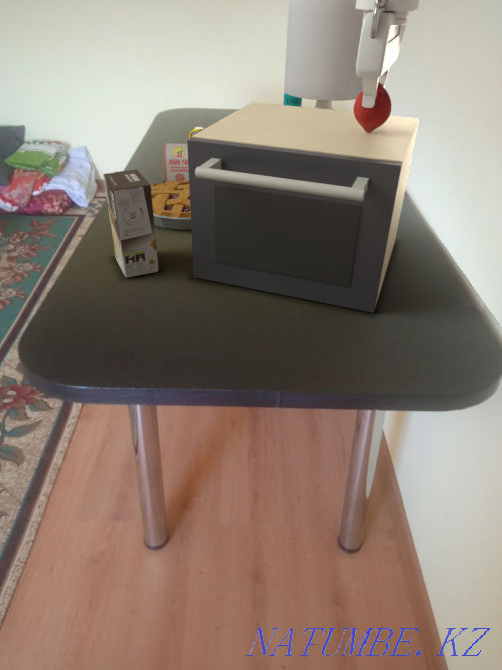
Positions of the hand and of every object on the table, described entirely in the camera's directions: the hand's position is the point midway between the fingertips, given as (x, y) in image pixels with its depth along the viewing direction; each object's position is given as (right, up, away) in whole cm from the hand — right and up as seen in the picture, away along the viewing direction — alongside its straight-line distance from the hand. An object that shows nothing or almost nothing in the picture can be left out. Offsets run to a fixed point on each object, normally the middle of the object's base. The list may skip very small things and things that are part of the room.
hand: (372, 101), depth 81 cm
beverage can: (-6, +28, +89) cm, 94 cm away
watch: (-35, +21, +78) cm, 88 cm away
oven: (-9, -22, +19) cm, 30 cm away
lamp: (0, +12, +67) cm, 68 cm away
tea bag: (-37, +2, +51) cm, 63 cm away
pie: (-34, -9, +35) cm, 50 cm away
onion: (0, -4, +3) cm, 5 cm away
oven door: (-15, -31, +5) cm, 35 cm away
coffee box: (-40, -24, +15) cm, 49 cm away
